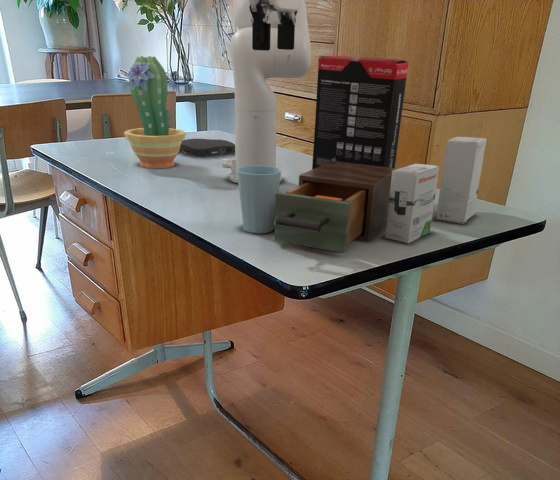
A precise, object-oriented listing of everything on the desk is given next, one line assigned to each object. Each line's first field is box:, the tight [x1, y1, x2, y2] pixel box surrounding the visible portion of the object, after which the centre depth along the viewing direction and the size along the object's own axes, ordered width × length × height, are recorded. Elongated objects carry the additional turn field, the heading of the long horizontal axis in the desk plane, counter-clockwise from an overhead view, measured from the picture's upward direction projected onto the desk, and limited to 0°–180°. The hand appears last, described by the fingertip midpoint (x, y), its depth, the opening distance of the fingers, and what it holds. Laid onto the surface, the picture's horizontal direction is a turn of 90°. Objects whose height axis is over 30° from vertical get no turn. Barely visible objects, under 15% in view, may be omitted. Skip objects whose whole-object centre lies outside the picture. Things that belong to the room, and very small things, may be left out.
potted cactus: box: [123, 55, 186, 169], centre depth 148 cm, size 15×15×25 cm
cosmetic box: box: [435, 136, 488, 225], centre depth 114 cm, size 8×6×15 cm
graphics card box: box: [311, 55, 409, 170], centre depth 121 cm, size 17×7×27 cm, turn 59°
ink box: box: [384, 163, 440, 244], centre depth 103 cm, size 9×5×12 cm, turn 141°
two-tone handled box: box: [274, 181, 369, 254], centre depth 98 cm, size 20×12×8 cm, turn 154°
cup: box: [237, 165, 282, 234], centre depth 104 cm, size 8×8×10 cm
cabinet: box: [298, 161, 398, 242], centre depth 109 cm, size 16×14×10 cm
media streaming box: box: [178, 138, 235, 158], centre depth 170 cm, size 15×15×3 cm
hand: (273, 49), depth 105 cm, fingers open, 9 cm apart
